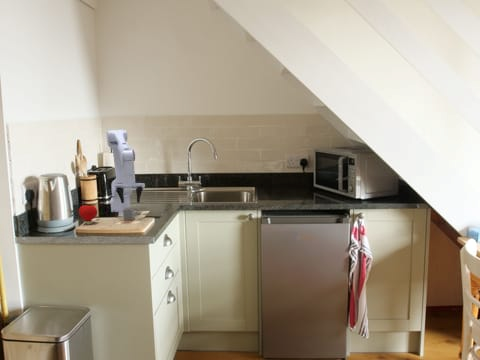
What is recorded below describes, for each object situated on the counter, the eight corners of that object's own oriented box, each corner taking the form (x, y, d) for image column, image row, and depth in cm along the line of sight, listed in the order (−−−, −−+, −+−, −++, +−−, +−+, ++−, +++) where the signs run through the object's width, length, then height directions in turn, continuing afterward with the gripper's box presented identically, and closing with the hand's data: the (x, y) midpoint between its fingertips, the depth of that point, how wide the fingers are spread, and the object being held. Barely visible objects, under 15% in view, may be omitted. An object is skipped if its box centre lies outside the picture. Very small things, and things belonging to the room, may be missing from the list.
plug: (124, 224, 210) (123, 209, 209) (126, 222, 214) (125, 208, 213) (132, 224, 210) (131, 209, 209) (134, 222, 214) (133, 207, 213)
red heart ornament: (76, 227, 206) (74, 206, 205) (86, 224, 213) (84, 203, 211) (92, 228, 203) (90, 207, 201) (102, 225, 209) (100, 204, 208)
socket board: (112, 227, 205) (112, 223, 204) (127, 214, 230) (126, 211, 230) (138, 226, 205) (138, 222, 204) (150, 213, 230) (149, 210, 230)
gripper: (111, 176, 208) (113, 204, 210) (141, 175, 208) (143, 203, 210) (115, 174, 215) (117, 201, 217) (145, 173, 215) (146, 200, 217)
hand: (130, 202), depth 214 cm, fingers open, 7 cm apart
